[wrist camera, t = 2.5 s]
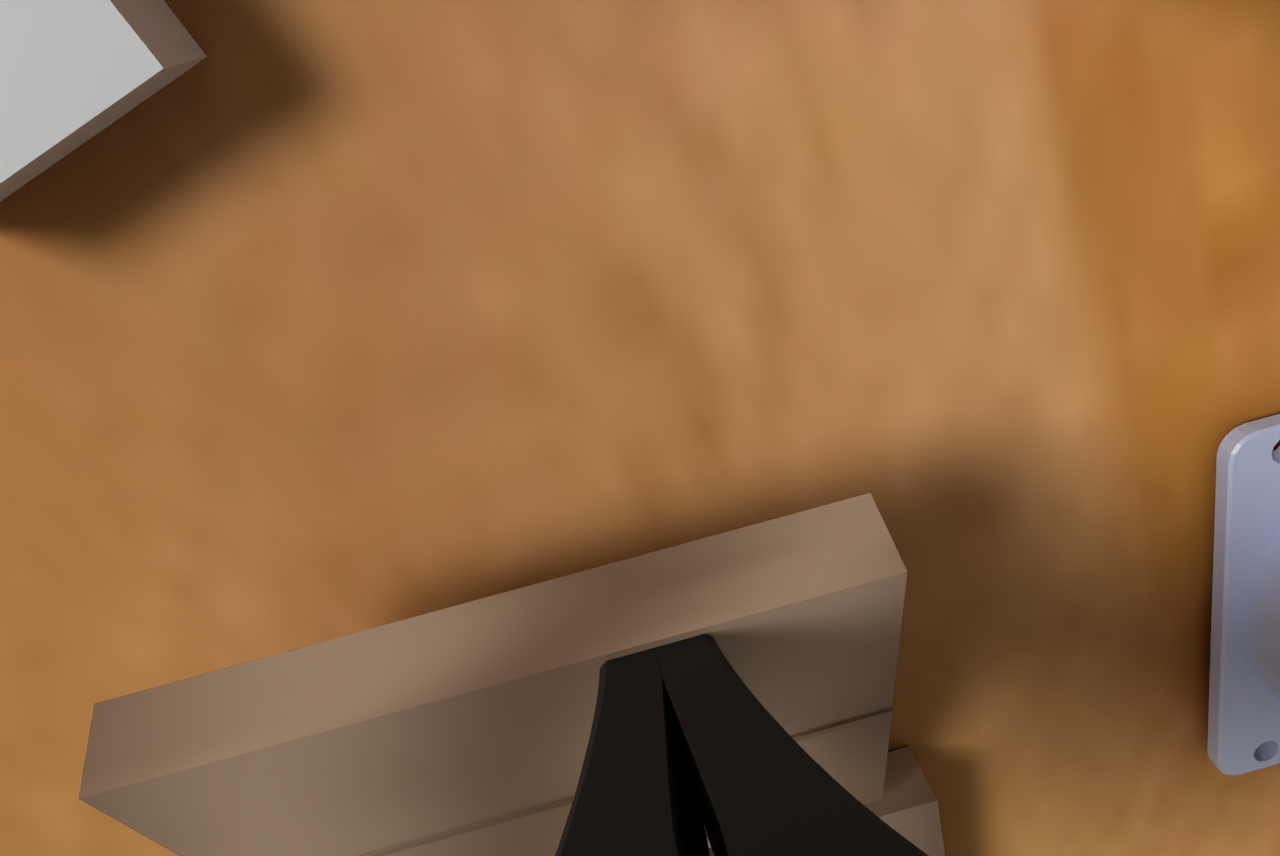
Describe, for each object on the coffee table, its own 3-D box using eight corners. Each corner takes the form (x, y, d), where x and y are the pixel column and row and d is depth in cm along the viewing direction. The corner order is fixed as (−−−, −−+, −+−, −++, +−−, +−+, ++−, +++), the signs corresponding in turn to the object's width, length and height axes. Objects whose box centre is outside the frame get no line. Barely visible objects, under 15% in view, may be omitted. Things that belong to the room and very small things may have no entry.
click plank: (870, 492, 12) (909, 576, 11) (859, 737, 18) (883, 802, 18) (94, 703, 12) (78, 802, 11) (344, 879, 18) (345, 952, 17)
